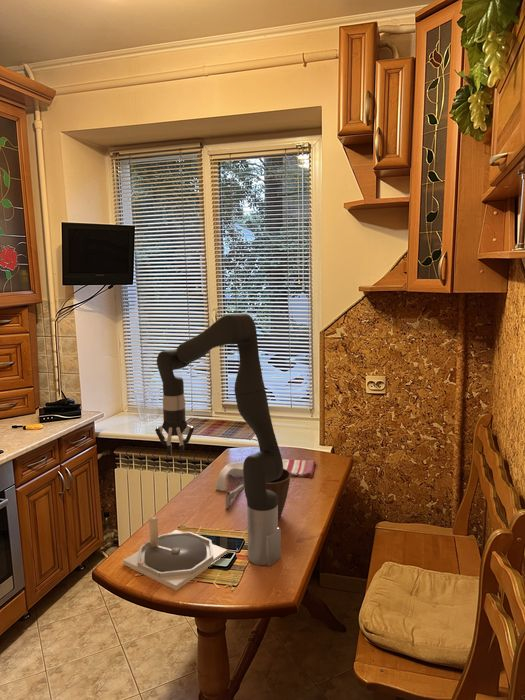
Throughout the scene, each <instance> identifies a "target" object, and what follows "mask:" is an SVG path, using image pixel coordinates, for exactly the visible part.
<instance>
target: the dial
mask: <svg viewBox="0 0 525 700" xmlns="http://www.w3.org/2000/svg"><path fill="white" fill-rule="evenodd" d="M158 523H159V521H158V516H153V515H152V516H150V517H148V528H149V529H148V531H149V541H150V546H149V547H148V548H147V550H146V551H145V562H146V564H147V565H148V566H149V567H151V568H153V569H155V570H157V571H161V572H167V571H177V570H187V569H191V568H193V567H195V566H196V565H198V564H199V563H201V562H202V561H203V560H204V559H205V557H206V555H207V547H206V545H205V544H204V542H202V541H201V540H199V539H197V538H194V537H190V536H172V537H167V538H163V539H161V540H159V539H158V536H159V524H158Z"/></svg>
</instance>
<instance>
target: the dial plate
mask: <svg viewBox="0 0 525 700" xmlns="http://www.w3.org/2000/svg"><path fill="white" fill-rule="evenodd" d="M172 536H190V537H194V538H197V539H199V540H201V541H202V542H204V544H205V545H206V547H207V555H206V557H205V559H204V560H203V561H202V562H201V563H199V564H198V565H196V566H195V567H193V568H191V569H187V570H177V571H167V572H161V571H157V570H155V569H153V568H151V567H149V566H148V565H147V564H146V562H145V551H146V550H147V548H148V547H149V546H150V540H148V541H146V542H145V543H143V544H142V545H140V547H139V550H137V552H134V553H132V554H131V555H129V556H128V557H126V558H124V559H123V560H122V561H123V563H122V564H123V565H124V566H125V565H126V567H127V566H128V568H129V567H130V569H132V570H134V571H136V572H138V573H140V574H141V575H144V576H146V577H148V578H150V579H152V580H154V581H156V582H158V583H160V584H162V585H165V586H166V587H168V588H170V589H172V590H174V591H178V590H180V589H181V588H182V587H183V586H184V585H186V584H188V583H189V582H190V581H192V580H193V579H195V578H196V577H197V576H199V575H200V574H201V573H203V572H204V571H206V570H207V569H209V568H210V567H209V565H210V564H211V563H212V562H214V561H215V560H217V559H219V558H221V557H223V556H224V555H226V554H227V555H228V549H226V548H224V547H221V546H218V545H216V544H214V543H213V542H212V539H210V538H207V537H205V536H202V535H200V534H197V533H195V532H192V531H181V530H178V529H174V530H173V531H171V532H168V533H163V534H158V539H159V540H161V539H163V538H167V537H172ZM227 555H226V556H227ZM224 557H225V556H224ZM224 557H223V558H224ZM221 559H222V558H221ZM208 567H209V568H208Z"/></svg>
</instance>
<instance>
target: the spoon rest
mask: <svg viewBox="0 0 525 700" xmlns="http://www.w3.org/2000/svg"><path fill="white" fill-rule="evenodd" d="M243 465H244V462H233V463H232V462H231V463H228V464H226V465H225V466H224V467H223V468H222V470H221V471H220V472H219V475H218V477H217V480H216V482H215V483H216V484H215V490H217V491H221V492H227V479H228V478H227V477H228V475H229V474H230V476H232V477H234V478H236V477H237V479H238V478H239V479H240V477H241V478H244V476H243Z"/></svg>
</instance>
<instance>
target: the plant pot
mask: <svg viewBox="0 0 525 700" xmlns="http://www.w3.org/2000/svg"><path fill="white" fill-rule="evenodd" d="M290 480H291V476H290V472H289V471H287V470H286V469H283V473H282V475H281V477H280V478H278V479H276V480H274V481H271V482H269V483H266V489H267V490H271V491H273V492H275V493H276V494H277V497H278V521H279V519H280V518H281V516H282V514H283V511H284V508H285V505H286V502H287V498H288V493H289V488H290Z"/></svg>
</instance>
